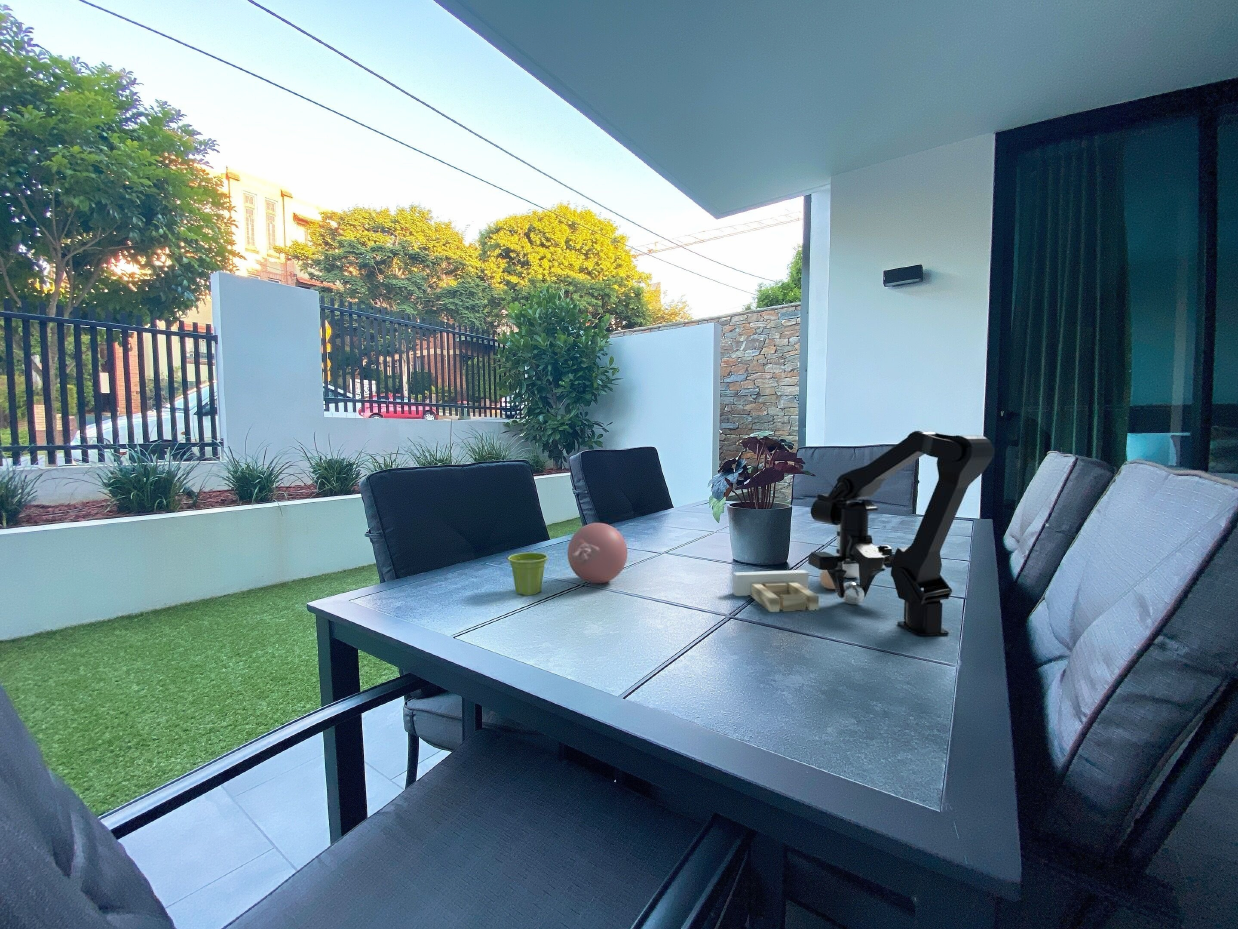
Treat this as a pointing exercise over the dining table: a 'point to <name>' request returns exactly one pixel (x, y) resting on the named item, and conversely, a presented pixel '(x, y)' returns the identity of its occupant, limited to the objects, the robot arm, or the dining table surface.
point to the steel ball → (853, 593)
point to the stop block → (766, 579)
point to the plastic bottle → (850, 568)
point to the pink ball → (597, 553)
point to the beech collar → (784, 596)
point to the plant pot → (528, 572)
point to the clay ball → (826, 580)
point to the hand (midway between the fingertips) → (851, 597)
